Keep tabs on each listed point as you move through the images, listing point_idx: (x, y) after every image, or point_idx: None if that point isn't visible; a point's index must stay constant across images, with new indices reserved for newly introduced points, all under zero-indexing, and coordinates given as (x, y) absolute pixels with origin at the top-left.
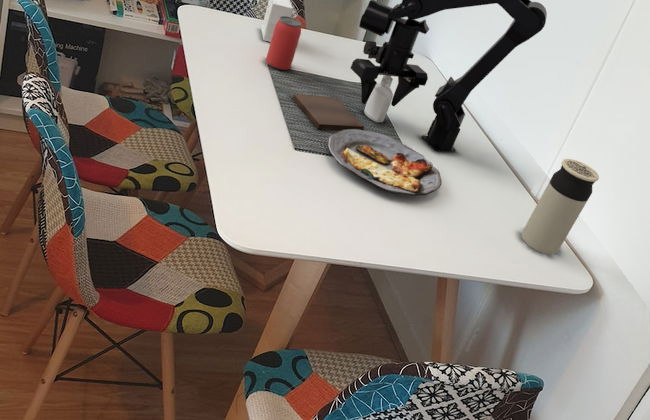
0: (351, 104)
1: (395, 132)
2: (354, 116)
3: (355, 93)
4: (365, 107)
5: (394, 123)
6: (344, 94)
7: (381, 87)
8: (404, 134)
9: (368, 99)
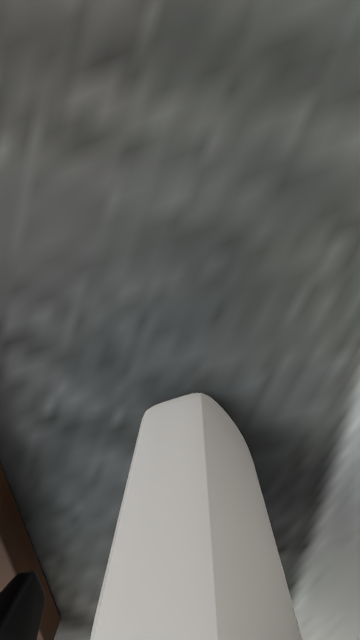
0: (76, 301)
1: (289, 591)
2: (6, 568)
3: (199, 14)
4: (136, 443)
5: (349, 495)
6: (53, 99)
7: None
8: (345, 599)
9: (121, 506)
